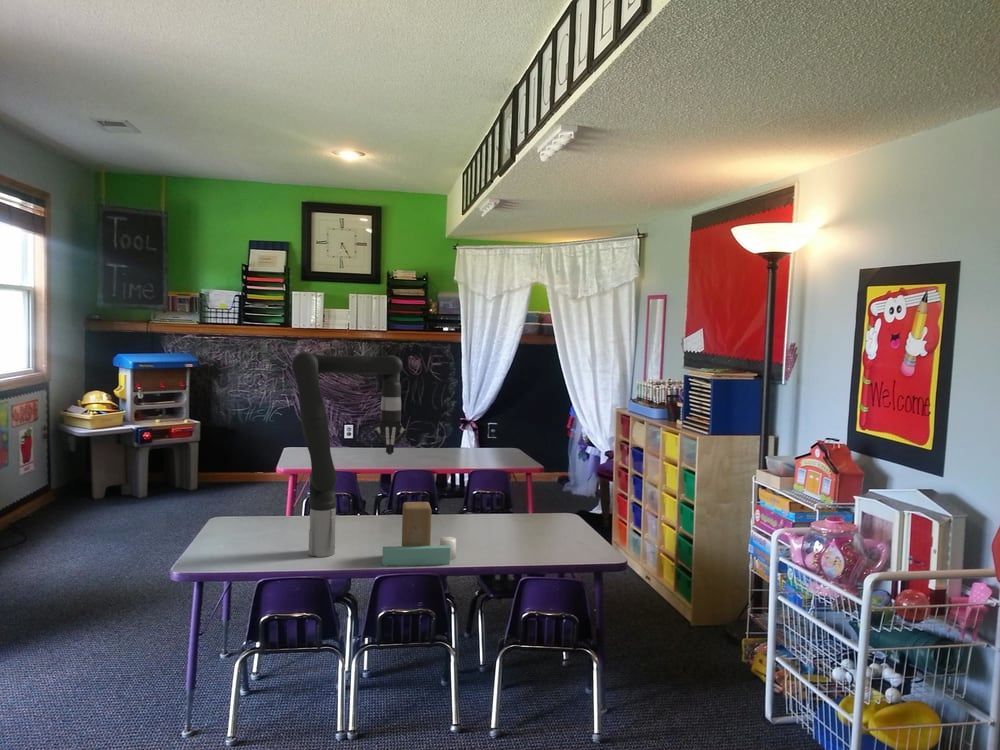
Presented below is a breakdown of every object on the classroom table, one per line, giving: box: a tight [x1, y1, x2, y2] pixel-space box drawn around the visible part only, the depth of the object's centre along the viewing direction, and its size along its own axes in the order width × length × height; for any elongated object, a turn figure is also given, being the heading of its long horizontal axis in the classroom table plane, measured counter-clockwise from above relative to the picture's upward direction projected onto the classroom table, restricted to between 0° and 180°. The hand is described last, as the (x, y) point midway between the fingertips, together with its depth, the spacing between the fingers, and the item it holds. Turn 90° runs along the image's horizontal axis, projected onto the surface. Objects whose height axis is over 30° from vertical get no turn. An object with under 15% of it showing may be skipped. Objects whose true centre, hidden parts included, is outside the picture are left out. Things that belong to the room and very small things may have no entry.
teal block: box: [381, 545, 451, 567], centre depth 251 cm, size 24×3×6 cm, turn 100°
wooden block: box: [401, 501, 432, 546], centre depth 257 cm, size 10×10×20 cm
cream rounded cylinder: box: [439, 536, 457, 561], centre depth 259 cm, size 6×6×7 cm
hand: (389, 454), depth 263 cm, fingers closed
